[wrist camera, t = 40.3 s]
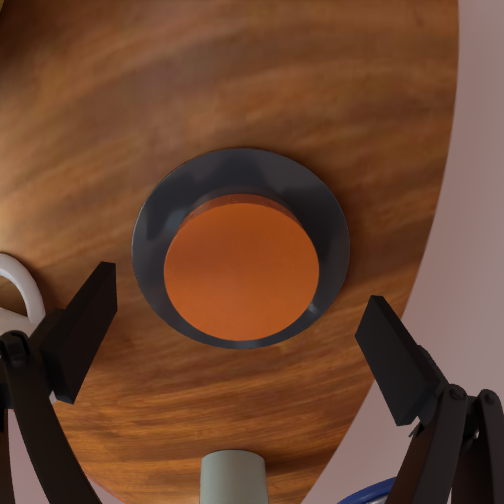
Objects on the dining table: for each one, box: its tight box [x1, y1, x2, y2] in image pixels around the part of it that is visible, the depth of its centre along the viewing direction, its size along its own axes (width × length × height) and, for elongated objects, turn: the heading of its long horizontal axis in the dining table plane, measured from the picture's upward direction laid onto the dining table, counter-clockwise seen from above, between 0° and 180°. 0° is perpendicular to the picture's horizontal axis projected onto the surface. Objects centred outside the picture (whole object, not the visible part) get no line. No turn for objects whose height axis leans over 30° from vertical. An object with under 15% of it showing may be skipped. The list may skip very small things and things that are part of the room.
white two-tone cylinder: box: [0, 253, 57, 404], centre depth 18 cm, size 12×9×12 cm
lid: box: [164, 193, 319, 341], centre depth 19 cm, size 9×9×2 cm
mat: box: [132, 147, 350, 349], centre depth 20 cm, size 14×14×1 cm
